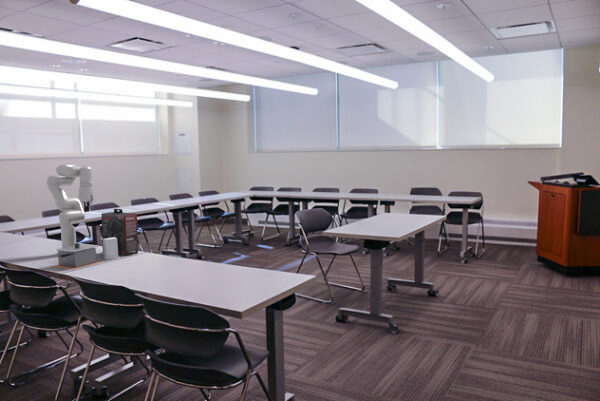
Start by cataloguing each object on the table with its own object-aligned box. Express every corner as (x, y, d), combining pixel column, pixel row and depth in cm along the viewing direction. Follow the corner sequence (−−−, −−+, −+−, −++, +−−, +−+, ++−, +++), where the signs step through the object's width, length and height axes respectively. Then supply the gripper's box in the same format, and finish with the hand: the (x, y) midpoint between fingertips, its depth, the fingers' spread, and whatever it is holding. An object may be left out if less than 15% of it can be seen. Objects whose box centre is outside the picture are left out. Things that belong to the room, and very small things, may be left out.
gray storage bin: (53, 266, 306) (52, 251, 305) (84, 259, 328) (83, 245, 327) (70, 269, 299) (69, 253, 298) (101, 261, 321) (100, 247, 320)
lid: (56, 250, 308) (55, 245, 308) (80, 245, 324) (79, 240, 324) (74, 251, 300) (73, 246, 300) (98, 246, 317) (97, 241, 316)
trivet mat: (50, 267, 308) (50, 266, 307) (82, 259, 329) (82, 258, 329) (72, 270, 298) (72, 269, 298) (103, 262, 320) (103, 262, 320)
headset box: (101, 253, 351) (100, 208, 348) (115, 249, 362) (114, 206, 359) (125, 256, 340) (123, 210, 337) (139, 253, 351) (137, 208, 348)
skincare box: (115, 257, 336) (114, 236, 334) (118, 259, 331) (117, 238, 329) (103, 259, 330) (102, 238, 329) (106, 260, 326) (105, 239, 324)
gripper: (73, 184, 326) (74, 211, 328) (88, 186, 319) (89, 213, 321) (83, 183, 332) (83, 209, 334) (98, 185, 325) (98, 211, 328)
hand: (86, 211), depth 328 cm, fingers closed
